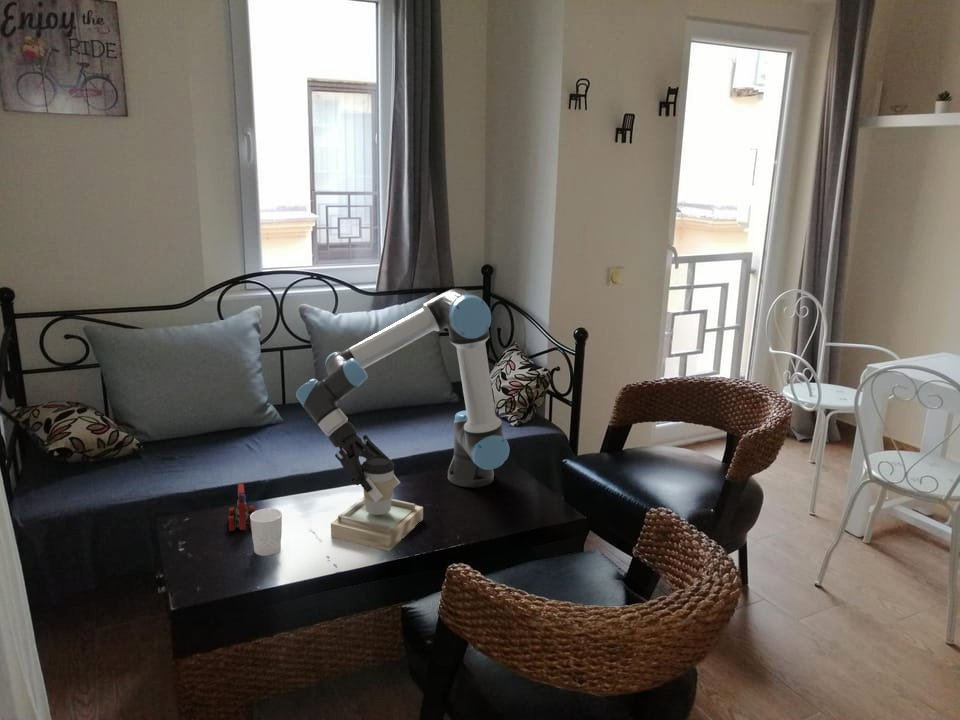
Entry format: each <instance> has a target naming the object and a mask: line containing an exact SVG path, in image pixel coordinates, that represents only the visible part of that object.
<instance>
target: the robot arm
mask: <svg viewBox="0 0 960 720" xmlns="http://www.w3.org/2000/svg"><path fill="white" fill-rule="evenodd" d="M491 323H492V312H491V309H490V307H489V306H488V304H487V303H486V302H485V301H484V299H482V298H481V297H479V296H478V295H476V294H472V293H471V292H470V291H467V290H466V289H463V288H451V289H449V290H446V291H445V292H442V293H440V294H439V295H436V296H435V297H433V298H431V299H430V300H428V301H426V302H423V304H422V306H421V308H420V309H418V310H416V311H414V312H412V313H411V314H409V315H407V316H406V317H403V318H402V319H400V320H398V321H395V322H394V323H392V324H391V325H389V326H387V327H385V328H384V329H381V330H380V331H377V332H376V333H374V334H373V335H371V336H369V337H367V338H365V339H363V340H362V341H360V342H358V343H356V344H354V345H352V346H351V347H348V348H347V349H345V350H342V351H335V352H332V353H331V354H329V355H328V356H327V357H326V359H325V363H324V365H325V372H326V374H327V376H326V377H325V378H324V379H322V380H321V381H319V380H318V379H316V378H311V379H310V380H308V381H307V382H305V383H304V384H302V385H301V386H300V387H299V388H298V389H297V391H296V392H295V396H296V398H297V400H298V401H299V403H300V404H301V406H302V408H303V409H304V410H305V411H306V412H307V413H308V415H309V416H310V418H312V420H313V421H314V422H315V423H316V425H318V427H319V428H320V430H321V431H322V432H323V433H324V435H325V436H328V441H330V443H331V444H332V445H333V446H334V447H335V448H338V447H339V450H338V451H337V452H336V453H335V454H334V456H335V458H336V459H337V460H338V461H339V462H340V464H341V466H342V467H343V469H344V472H345V473H346V475H347V477H348V478H349V480H350V482H351V484H352V485H356V486H361V487H362V488H363V490H364V489H365V491H366V492H367V493H369V495H370V496H371V497H372V498H373V500H374V501H375V502H377V501H378V500H379V499H380V498H382V497H383V495H382V494H381V493H380V491H379V490H378V489H377V488H376V486H375V485H374V484H373V483H372V481H371V480H370V479H369V477H368V478H367V479H366V477H365V474H364V472H363V469H362V464H361V461H360V458H359V457H361V458H362V457H363V458H364V459H367V458H370V457H374V456H377V455H385V456H386V457H387V458H389V457H388V456H387V455H386V454H385V453H384V452H383V451H382V450H381V449H380V448H379V447H378V446H376V445H375V443H373V442H372V441H371V440H370V438H369V436H368V435H367V434H364V435H363V436H362V437H360V436H358V435H357V432H358V430H357V429H356V427H355V426H354V425H353V423H352V422H351V421H348V419H349V418H348V417H347V416H346V414H345V413H344V412H343V411H342V410H341V408H340V407H339V406H338V405H337V403H339V402H340V401H341V400H342V399H343V398H345V397H346V396H348V395H349V394H350V393H352V392H353V391H354V390H355V389H357V388H358V387H360V386H361V385H362V384H363V383H364V382H365V381H366V380H367V379H368V373H367V372H366V370H365V368H367V367H369V366H371V365H373V364H375V363H377V362H378V361H380V360H383V359H384V358H386V357H388V356H389V355H391V354H393V353H395V352H397V351H399V350H400V349H402V348H404V347H406V346H408V345H410V344H411V343H413V342H415V341H417V340H419V339H420V338H422V337H424V336H426V335H428V334H430V333H432V332H434V331H435V332H441V331H442V330H444V329H446V328H447V330H448V334H449V335H448V336H449V343H450V344H452V345H453V346H455V349H456V353H457V359H458V360H457V361H458V365H459V366H458V367H459V373H460V379H461V384H462V385H461V386H462V393H463V397H464V404H465V410H461V411H458V412H456V414H455V415H454V421H453V428H454V434H453V457H452V459H451V462H450V465H449V467H448V470H447V479H448V481H449V482H450V483H452V484H453V485H455V486H459V487H463V488H481V487H485V486H489V485H490V484H492V482H494V479H495V478H494V475H495V474H494V473H495V472H494V469H497V468H499V467H501V466H502V465H503V464H505V463H504V462H506V461H507V459H508V458H509V455H510V445H509V442H508V439H506V437H505V436H504V431H503V425H502V423H503V422H502V420H501V418H499V417H497V416H496V410H495V402H494V396H493V395H494V394H493V390H492V389H493V388H492V380H491V375H490V368H489V360H488V353H487V347H486V342H487V341H488V339H490V331H489V328H490V327H491V325H492V324H491ZM343 400H344V399H343ZM393 475H394V481H393V489H395V488H396V487H397V486H398V485H400V484H401V481H400V480H399V478H397V476H396V475H395V473H393Z"/></svg>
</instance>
